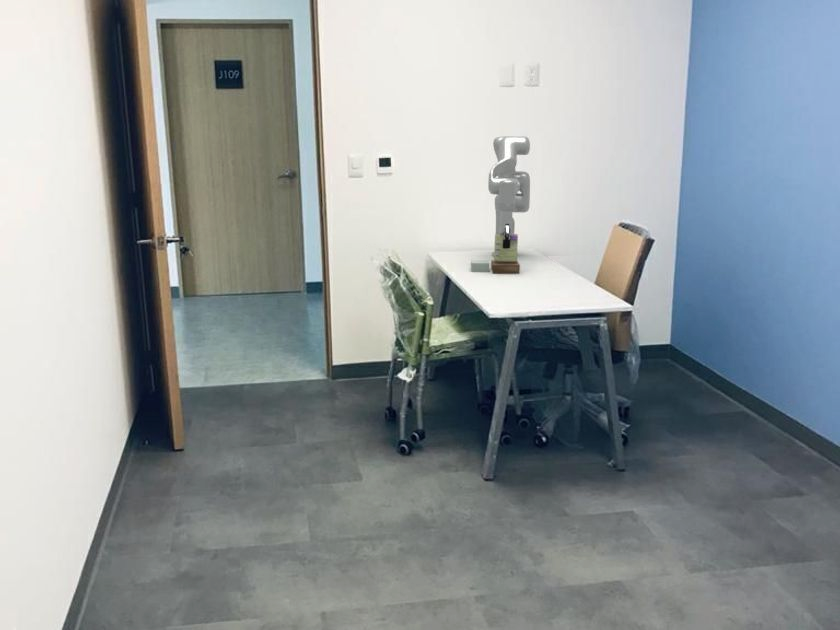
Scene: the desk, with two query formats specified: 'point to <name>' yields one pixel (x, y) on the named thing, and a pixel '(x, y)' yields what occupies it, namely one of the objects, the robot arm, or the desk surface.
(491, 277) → the desk surface
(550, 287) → the desk surface
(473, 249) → the desk surface
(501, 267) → the walnut base
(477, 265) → the green block
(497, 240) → the box
